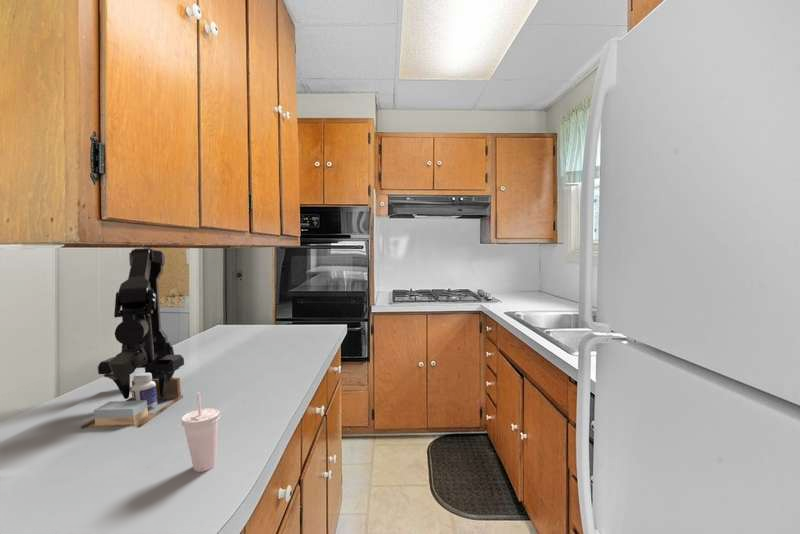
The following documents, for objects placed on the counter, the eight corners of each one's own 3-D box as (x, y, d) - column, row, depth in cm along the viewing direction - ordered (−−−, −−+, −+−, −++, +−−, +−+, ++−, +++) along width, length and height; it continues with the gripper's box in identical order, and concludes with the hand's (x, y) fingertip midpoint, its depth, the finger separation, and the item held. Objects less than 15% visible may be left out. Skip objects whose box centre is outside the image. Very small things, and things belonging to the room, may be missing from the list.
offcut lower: (111, 416, 101) (110, 408, 101) (148, 415, 101) (147, 407, 101) (95, 425, 96) (94, 417, 96) (134, 424, 96) (133, 416, 96)
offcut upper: (110, 408, 101) (109, 401, 101) (147, 407, 101) (146, 400, 100) (94, 417, 96) (93, 410, 96) (133, 416, 96) (132, 408, 95)
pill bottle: (162, 404, 110) (158, 371, 109) (150, 413, 104) (147, 377, 104) (141, 406, 109) (137, 372, 109) (128, 414, 104) (125, 379, 104)
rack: (133, 401, 113) (131, 379, 112) (184, 400, 112) (182, 377, 112) (81, 432, 95) (78, 406, 95) (141, 430, 94) (139, 404, 94)
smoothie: (181, 478, 74) (174, 400, 73) (189, 460, 80) (183, 388, 79) (221, 471, 76) (215, 395, 75) (225, 454, 82) (220, 383, 81)
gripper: (76, 346, 98) (83, 412, 99) (156, 343, 97) (162, 409, 98) (111, 335, 109) (116, 394, 110) (182, 332, 108) (187, 392, 109)
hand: (144, 397), depth 107 cm, fingers open, 9 cm apart
